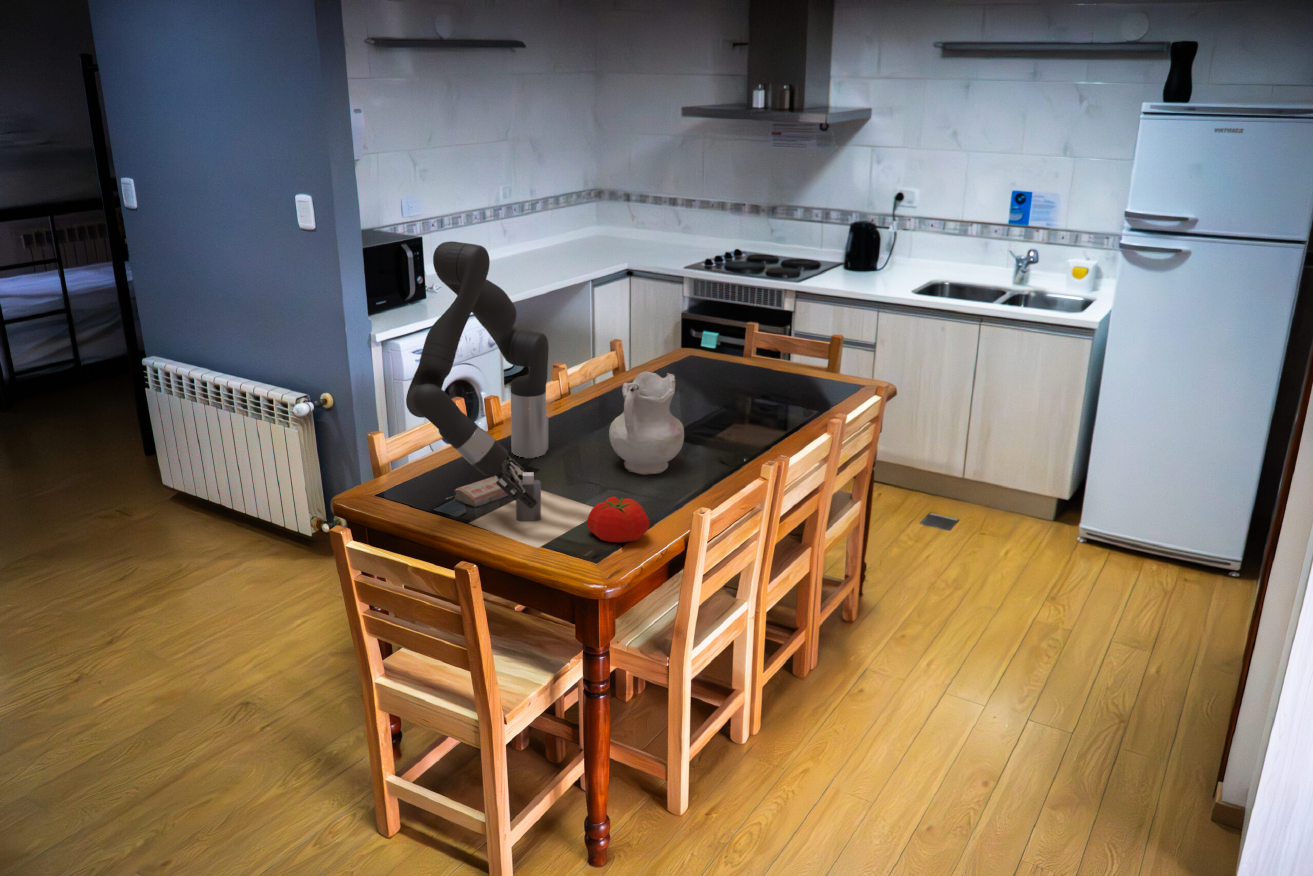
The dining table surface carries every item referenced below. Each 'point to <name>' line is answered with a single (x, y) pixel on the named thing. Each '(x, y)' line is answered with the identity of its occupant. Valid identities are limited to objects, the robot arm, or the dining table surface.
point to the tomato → (618, 520)
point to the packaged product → (480, 492)
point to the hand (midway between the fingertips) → (534, 497)
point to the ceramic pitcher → (647, 425)
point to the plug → (535, 491)
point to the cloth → (553, 522)
